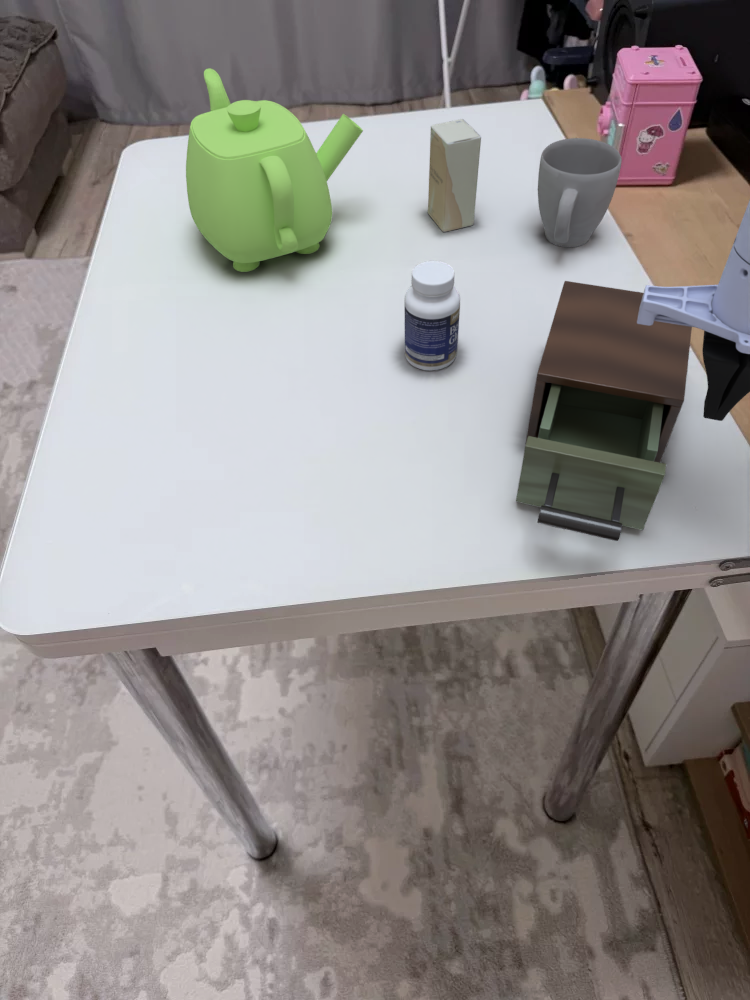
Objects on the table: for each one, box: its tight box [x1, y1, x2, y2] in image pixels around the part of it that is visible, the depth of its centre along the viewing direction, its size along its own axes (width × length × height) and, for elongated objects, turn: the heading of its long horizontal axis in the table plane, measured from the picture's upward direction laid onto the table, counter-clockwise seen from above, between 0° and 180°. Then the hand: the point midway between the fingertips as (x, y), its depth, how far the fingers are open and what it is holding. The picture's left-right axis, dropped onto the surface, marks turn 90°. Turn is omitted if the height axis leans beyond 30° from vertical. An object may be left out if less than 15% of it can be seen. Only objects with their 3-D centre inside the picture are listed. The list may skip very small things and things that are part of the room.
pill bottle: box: [403, 260, 461, 371], centre depth 72 cm, size 5×5×10 cm
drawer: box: [515, 383, 667, 542], centre depth 61 cm, size 17×10×7 cm, turn 161°
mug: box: [537, 137, 623, 248], centre depth 85 cm, size 12×9×10 cm
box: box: [427, 118, 482, 233], centre depth 88 cm, size 5×4×11 cm
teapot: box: [185, 67, 364, 273], centre depth 87 cm, size 25×22×16 cm
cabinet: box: [524, 280, 693, 463], centre depth 67 cm, size 14×12×9 cm
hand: (713, 410), depth 56 cm, fingers closed
